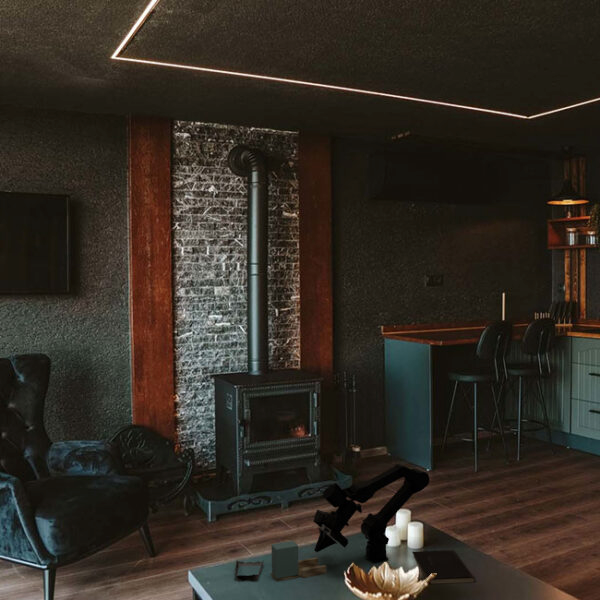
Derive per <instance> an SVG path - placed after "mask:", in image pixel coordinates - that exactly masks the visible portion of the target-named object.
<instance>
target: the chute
mask: <svg viewBox="0 0 600 600" xmlns="http://www.w3.org/2000/svg"><path fill="white" fill-rule="evenodd" d="M298 563H299V575H295V576H289V577H284V578H279V579H276V577H275V576H274V575H273V574H272V572H271V573H270V575H271V577H272V578H273V579H274V580H275V581H276V582H279V581H280V582H281V581H285V580H291V579H297V578H302V579H304V578H309V577H315V576H320V575H321V576H322V575H325V574H327V565H326V564H325V565H324V564H323V565H319V558H318V557H311V558H307V559H301V560H300V559H299V560H298Z"/></svg>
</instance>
